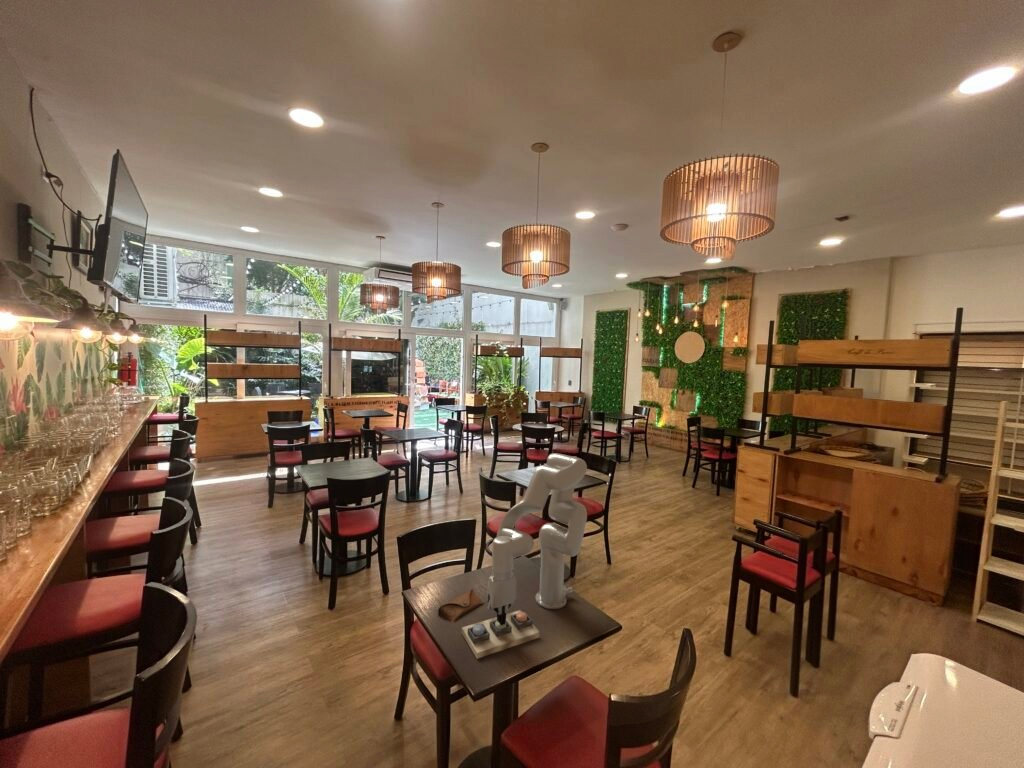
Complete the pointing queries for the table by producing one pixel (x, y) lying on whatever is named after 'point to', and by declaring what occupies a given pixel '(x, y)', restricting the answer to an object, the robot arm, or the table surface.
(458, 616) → the sunglasses case
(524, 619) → the terracotta button
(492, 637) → the button panel
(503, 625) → the sage button
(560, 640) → the table surface
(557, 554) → the robot arm
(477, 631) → the slate button
